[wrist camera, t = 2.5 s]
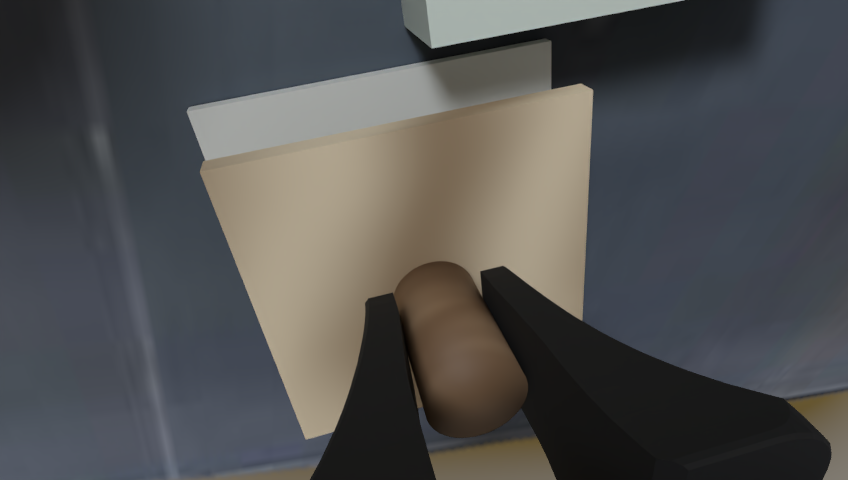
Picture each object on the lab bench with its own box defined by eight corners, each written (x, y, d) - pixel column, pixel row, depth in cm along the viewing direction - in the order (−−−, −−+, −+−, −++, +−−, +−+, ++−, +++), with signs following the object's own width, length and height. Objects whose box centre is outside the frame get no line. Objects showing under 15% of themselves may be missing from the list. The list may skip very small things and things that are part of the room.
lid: (580, 83, 13) (711, 151, 9) (571, 350, 17) (653, 469, 14) (203, 161, 11) (164, 278, 8) (305, 423, 16) (312, 576, 12)
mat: (545, 38, 15) (551, 41, 15) (546, 305, 20) (550, 312, 20) (189, 107, 14) (186, 111, 13) (290, 372, 19) (290, 380, 19)
